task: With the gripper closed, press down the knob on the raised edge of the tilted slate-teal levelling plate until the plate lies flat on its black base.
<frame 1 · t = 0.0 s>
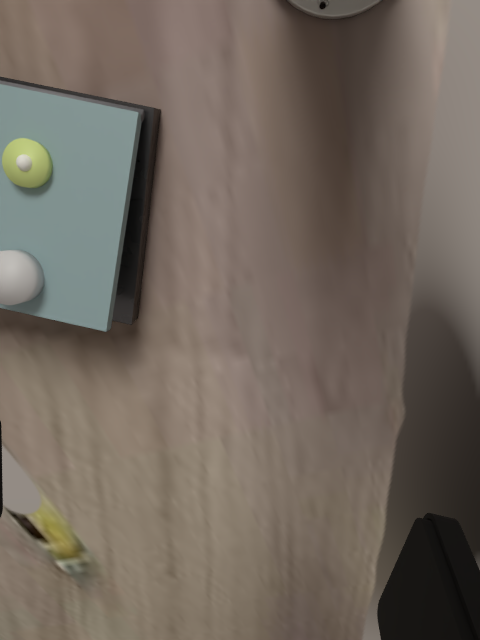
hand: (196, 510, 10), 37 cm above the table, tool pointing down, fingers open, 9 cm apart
levelling plate: (25, 204, 40), point 6 cm above the table, hinge at 10.0°
levelling base: (57, 203, 46), on the table
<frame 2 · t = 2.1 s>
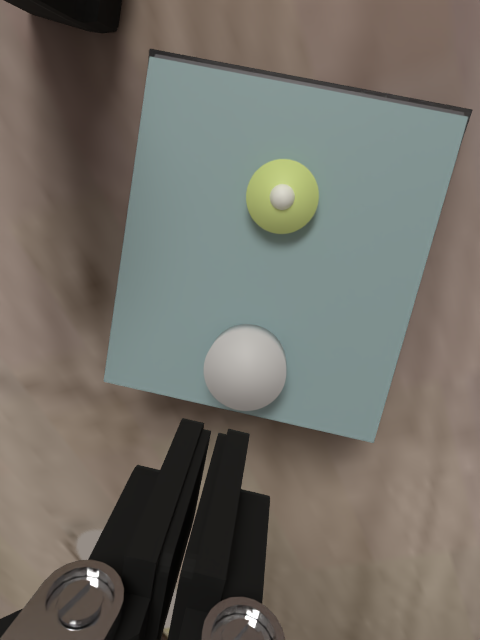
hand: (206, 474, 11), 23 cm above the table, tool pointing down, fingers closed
levelling plate: (269, 257, 26), point 6 cm above the table, hinge at 10.0°
levelling base: (272, 246, 32), on the table
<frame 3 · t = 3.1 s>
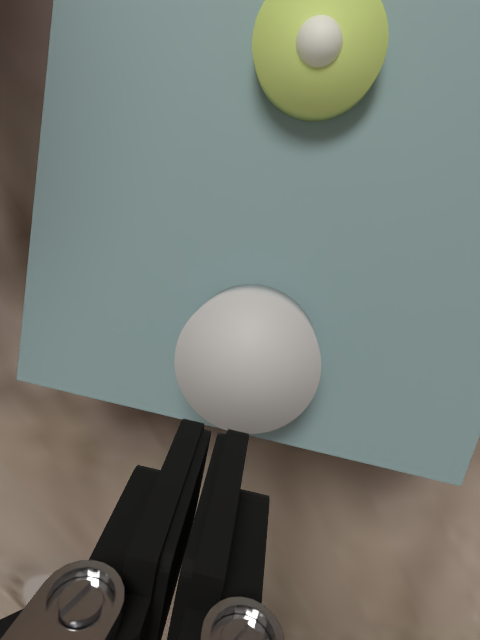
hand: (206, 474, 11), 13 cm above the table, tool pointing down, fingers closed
levelling plate: (292, 165, 15), point 6 cm above the table, hinge at 10.0°
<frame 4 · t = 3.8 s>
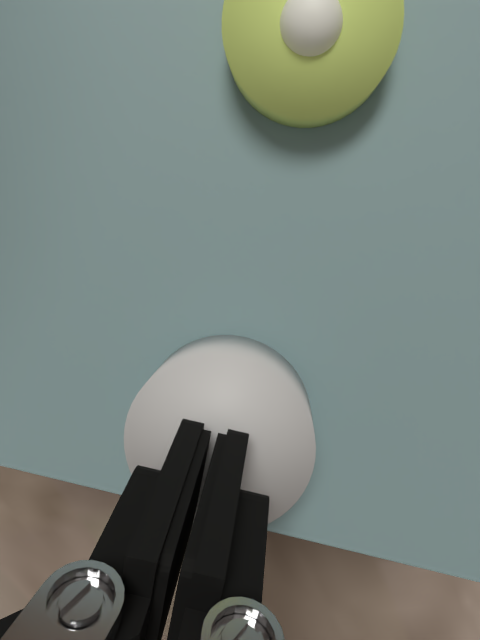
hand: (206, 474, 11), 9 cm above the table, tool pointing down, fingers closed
levelling plate: (277, 184, 12), point 6 cm above the table, hinge at 10.0°, touching gripper
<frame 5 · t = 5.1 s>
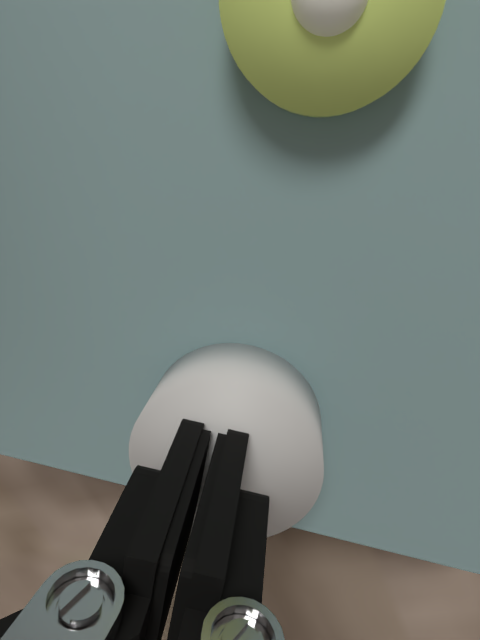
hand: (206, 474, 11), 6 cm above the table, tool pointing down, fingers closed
levelling plate: (287, 185, 10), point 4 cm above the table, hinge at 0.0°, touching gripper
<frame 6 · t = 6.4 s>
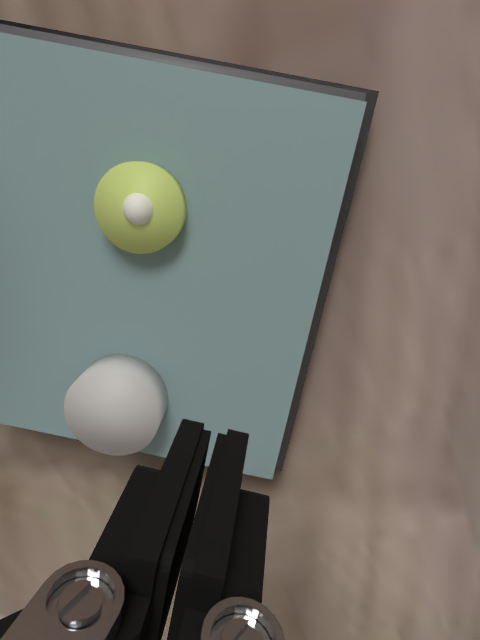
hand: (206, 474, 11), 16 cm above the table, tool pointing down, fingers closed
levelling plate: (135, 279, 22), point 4 cm above the table, hinge at 0.0°
levelling base: (156, 266, 26), on the table
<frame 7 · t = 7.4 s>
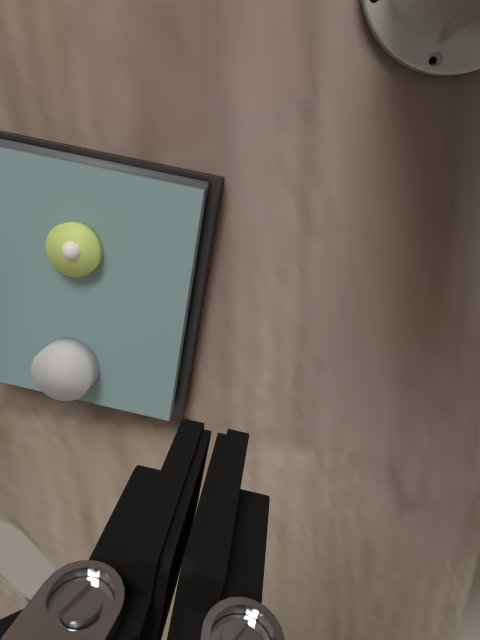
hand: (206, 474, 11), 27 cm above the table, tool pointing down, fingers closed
levelling plate: (74, 291, 35), point 4 cm above the table, hinge at 0.0°
levelling base: (96, 279, 39), on the table
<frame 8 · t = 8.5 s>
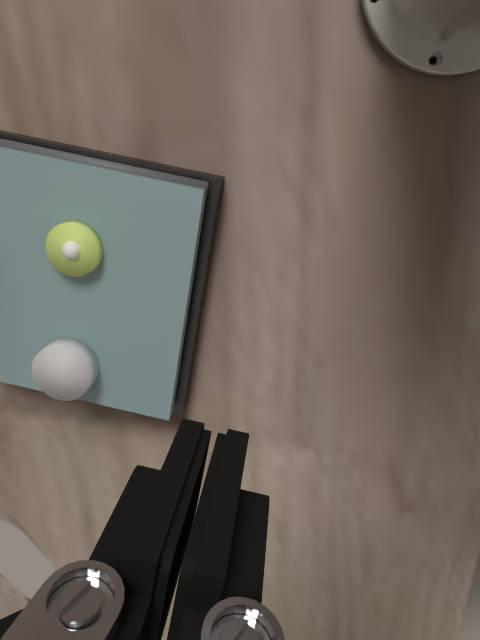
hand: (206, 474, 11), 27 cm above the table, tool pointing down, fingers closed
levelling plate: (74, 291, 35), point 4 cm above the table, hinge at 0.0°
levelling base: (96, 279, 39), on the table
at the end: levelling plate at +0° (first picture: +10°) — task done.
